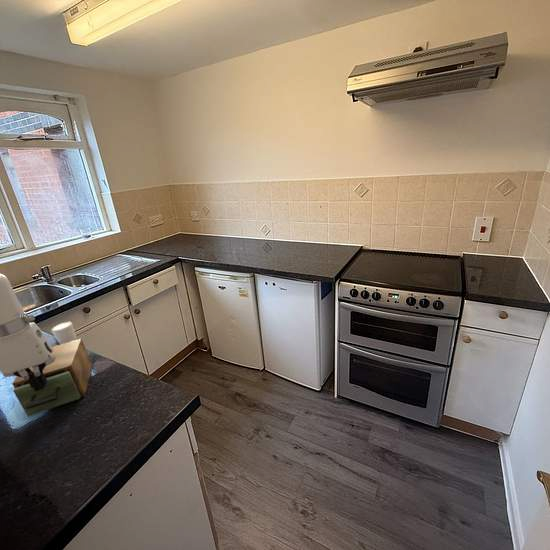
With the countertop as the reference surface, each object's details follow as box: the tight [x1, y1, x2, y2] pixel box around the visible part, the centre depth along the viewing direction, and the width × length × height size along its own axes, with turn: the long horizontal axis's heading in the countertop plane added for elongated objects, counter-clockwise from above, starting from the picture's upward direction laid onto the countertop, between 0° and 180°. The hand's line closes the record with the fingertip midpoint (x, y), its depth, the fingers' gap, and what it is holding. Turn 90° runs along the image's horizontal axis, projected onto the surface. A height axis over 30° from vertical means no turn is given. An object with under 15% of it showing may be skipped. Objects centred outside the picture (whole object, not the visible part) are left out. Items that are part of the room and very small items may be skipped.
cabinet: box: [11, 338, 94, 397], centre depth 88 cm, size 16×14×11 cm
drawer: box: [12, 369, 82, 417], centre depth 84 cm, size 19×12×9 cm, turn 23°
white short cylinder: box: [50, 321, 78, 345], centre depth 115 cm, size 7×7×7 cm
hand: (41, 387), depth 77 cm, fingers closed
